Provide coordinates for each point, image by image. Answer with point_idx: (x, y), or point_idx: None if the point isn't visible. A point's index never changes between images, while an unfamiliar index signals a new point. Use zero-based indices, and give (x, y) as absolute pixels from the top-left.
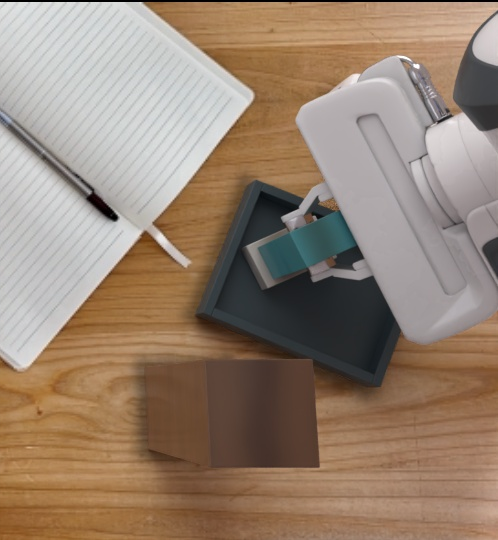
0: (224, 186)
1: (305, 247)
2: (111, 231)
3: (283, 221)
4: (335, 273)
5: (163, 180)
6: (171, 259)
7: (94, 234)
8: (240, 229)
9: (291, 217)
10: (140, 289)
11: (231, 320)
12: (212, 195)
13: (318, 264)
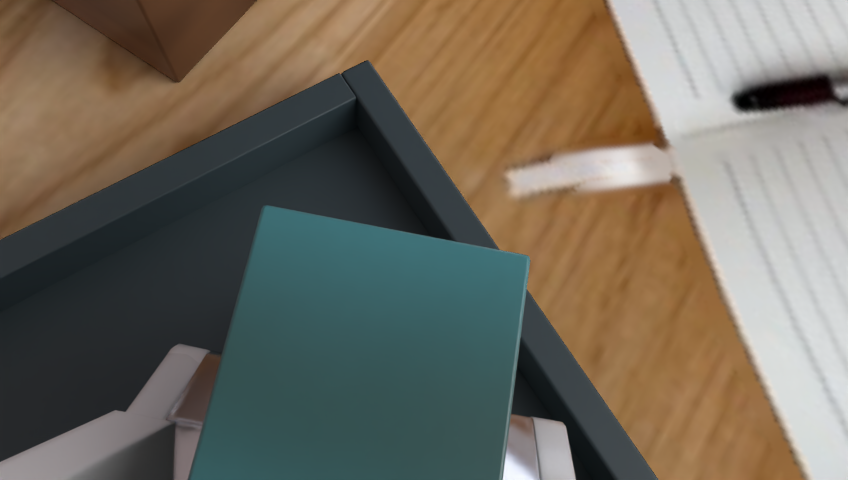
0: (680, 448)
1: (382, 280)
2: (710, 73)
3: (536, 417)
4: (119, 423)
5: (787, 286)
6: (551, 154)
7: (723, 34)
8: (546, 344)
9: (544, 448)
10: (521, 36)
11: (285, 114)
12: (671, 391)
13: None
